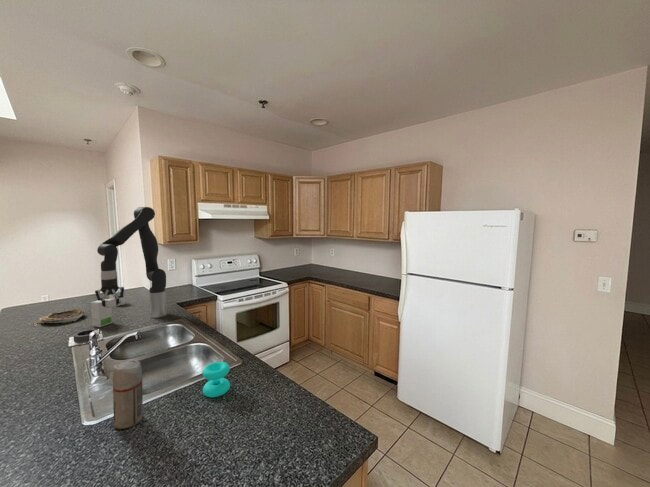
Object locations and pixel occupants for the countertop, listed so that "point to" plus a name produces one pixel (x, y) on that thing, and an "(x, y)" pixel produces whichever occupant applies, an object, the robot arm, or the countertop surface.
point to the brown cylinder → (127, 394)
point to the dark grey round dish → (82, 337)
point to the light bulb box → (121, 300)
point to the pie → (62, 316)
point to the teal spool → (216, 379)
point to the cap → (110, 303)
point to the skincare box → (100, 314)
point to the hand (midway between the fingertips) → (110, 305)
